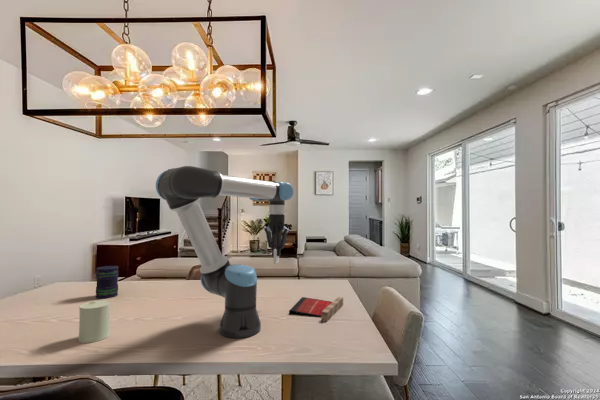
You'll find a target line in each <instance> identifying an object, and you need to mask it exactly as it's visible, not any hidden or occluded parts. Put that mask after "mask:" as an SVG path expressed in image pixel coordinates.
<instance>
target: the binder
mask: <svg viewBox="0 0 600 400" xmlns="http://www.w3.org/2000/svg"><path fill="white" fill-rule="evenodd" d="M332 302H333V301H331V300H323V299H318V298H312V297H306V296H305V297H304V296H303V297H301V298H300V299H299V300H298V301H297V302H296V303H295V304H294V305H293V306H292V307H291V308H290V309H289V311H288V314H289V315H291V314H293V313H294V314H297V315H301V316H306V317H313V318H314V317H315V318H322V311H323V310H324V309H325V308H326V307H327V306H329V305H330V304H331V303H332Z"/></svg>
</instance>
